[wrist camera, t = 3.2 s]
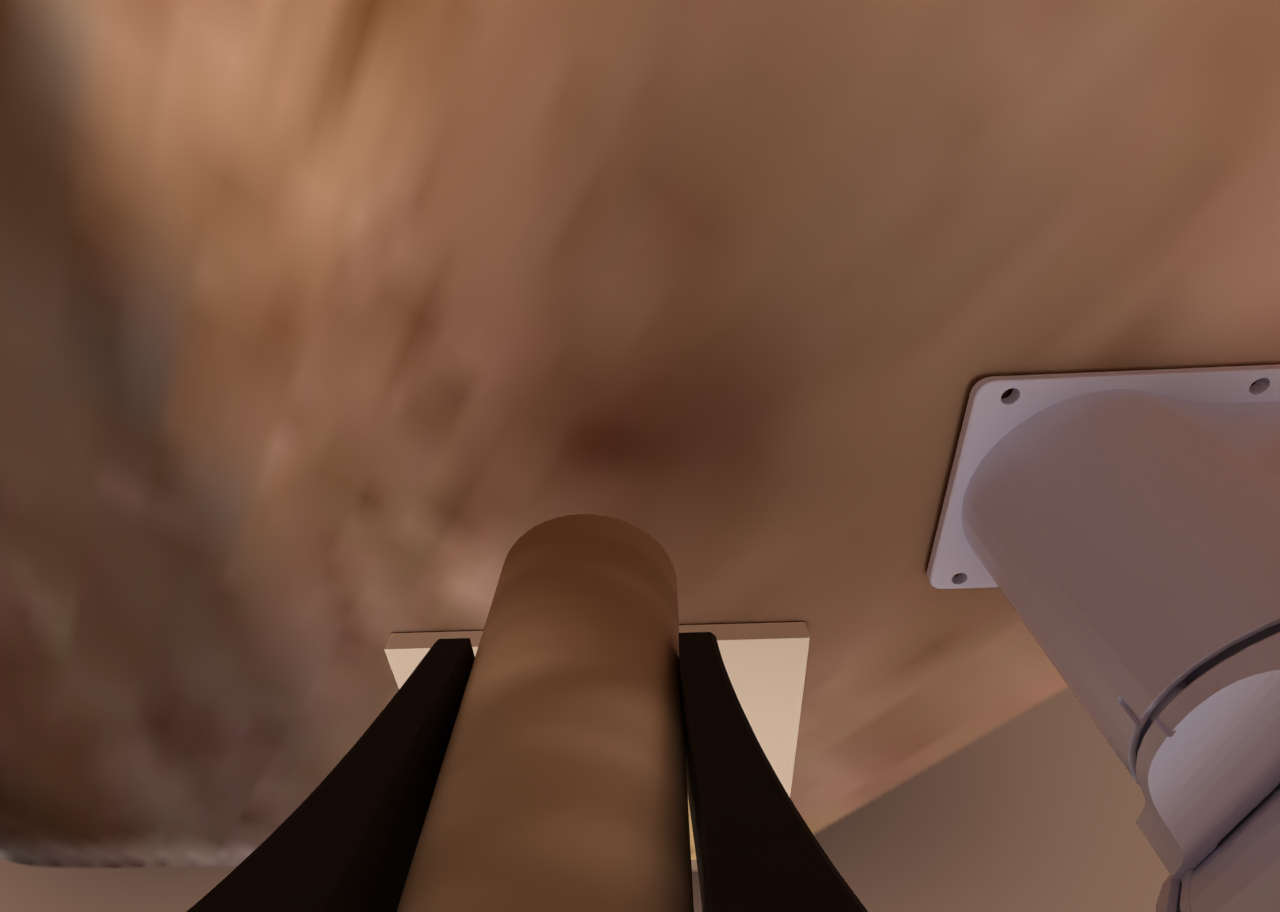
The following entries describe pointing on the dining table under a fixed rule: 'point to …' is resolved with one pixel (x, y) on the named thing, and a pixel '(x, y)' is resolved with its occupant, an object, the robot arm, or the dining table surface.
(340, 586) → the dining table surface
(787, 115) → the dining table surface
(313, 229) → the dining table surface
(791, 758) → the socket plate
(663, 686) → the birch peg
